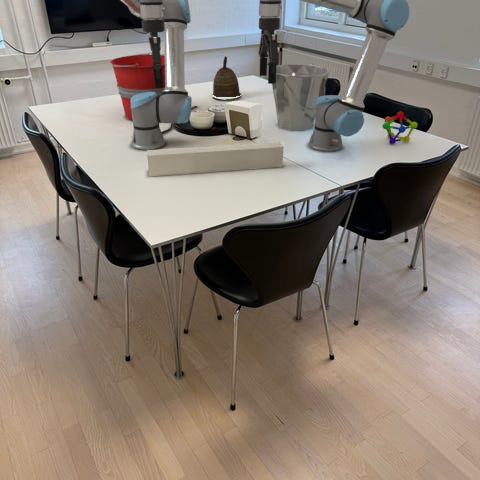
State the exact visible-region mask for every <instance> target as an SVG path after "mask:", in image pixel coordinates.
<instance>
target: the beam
mask: <svg viewBox="0 0 480 480" xmlns="http://www.w3.org/2000/svg"><path fill="white" fill-rule="evenodd" d="M284 148H285V147H284V145H283V144H282V143H281V141H272V142H271V141H270V142H258V143H257V142H256V143H242V144H225V145H210V146H209V145H208V146H194V147H178V148H175V147H174V148H159V149H153V150H146V158H147V159H146V160H147V167H148V168H147V169H148V175H149V177H161V176H175V175H188V174H189V175H190V174H202V173H204V174H205V173H215V172H230V171H245V170H258V169H260V170H261V169H272V168H283V162H284Z"/></svg>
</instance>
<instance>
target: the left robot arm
mask: <svg viewBox="0 0 480 480" xmlns="http://www.w3.org/2000/svg"><path fill="white" fill-rule="evenodd" d="M120 2H122V3H123V4H124V5H125V6H127V8H128V10H129V12H130V13H131V14H132V15H134V16H135V17H137V18H139V19H141V28H142V32H144V33H149V35H150V36H148V43H149V48H150V52H151V53H152V54H151V55H152V60H153V66H152V69H153V72H154V80H155V88H163V78H162V65H161V57H160V55H161V49H162V47H161V43H162V40H161V37H160V36H159V33H163V43H164V44H163V46H164V49H163V50H164V56H165V89H164V90H163V91H162V96H157V94H156V93H155V92H144V93H139V94H136V95H134V96H133V97H132V98H131V111H132V118H133V121H132V125H133V132H132V135H131V142H130V143H131V147H132V148H134V149H135V150H141V151H147V150H159V149H161V148H163V147H164V146H165V144H166V140H165V137H164V135H163V134H166V133H168V132H170V131H171V130H172V129H173V125H174V124H178V125H179V124H186V123H188V122H189V121H190V118H191V113H192V110H193V109H195V108H198V105H197V106H196V105H194V106H192V102H193V101H192V100H193V99H192V96H190V95H189V91H188V90H187V89H186V88H185V82H186V81H185V31H186V30H187V29H188V24H190V23H191V21H192V20H191V10H190V9H191V8H190V3H189V0H120ZM160 124H170V127H169V128H167V129H165V130H163V131H162V130H161V127H160Z"/></svg>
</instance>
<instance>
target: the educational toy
mask: <svg viewBox="0 0 480 480" xmlns="http://www.w3.org/2000/svg"><path fill="white" fill-rule="evenodd" d="M397 119H399V124H400V125H399V127H398V126H393V125H391V124H392V123H394V122H395V121H396V120H397ZM403 120H404V121H405V122H407V123H408V124H409V125H407V126H404V123H403ZM417 127H418V122H417V121H411V120H410V119H409V118H408V117H406V116H405V113H404V112H403V111H401V110H400V111H398V112H397V114H396V115H394V116H391V117H390V116H386V117H385V118H384V122H383V123H382V129H383V130H386V132H387V138H388V142H389V145H395V144H396V143H397V142H402V141H403V142H404V143H409V142H410V140H411V138H410V136H411V134H412V132H413V131H414V130H415V129H417ZM392 129H393V130H397V131H398V132H396V134H395V133H394V132H392ZM408 129H409V131H408V133H407V134H406V135H404V136H401V134H403V133H405V132H406V130H408ZM399 135H400V136H399Z"/></svg>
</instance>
